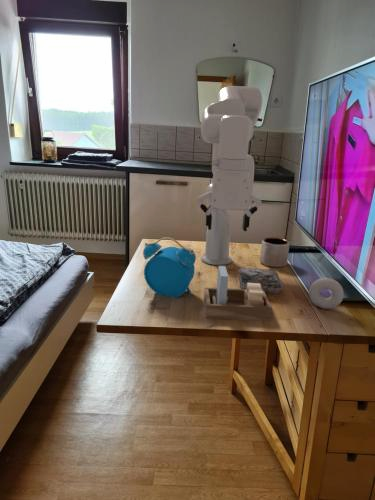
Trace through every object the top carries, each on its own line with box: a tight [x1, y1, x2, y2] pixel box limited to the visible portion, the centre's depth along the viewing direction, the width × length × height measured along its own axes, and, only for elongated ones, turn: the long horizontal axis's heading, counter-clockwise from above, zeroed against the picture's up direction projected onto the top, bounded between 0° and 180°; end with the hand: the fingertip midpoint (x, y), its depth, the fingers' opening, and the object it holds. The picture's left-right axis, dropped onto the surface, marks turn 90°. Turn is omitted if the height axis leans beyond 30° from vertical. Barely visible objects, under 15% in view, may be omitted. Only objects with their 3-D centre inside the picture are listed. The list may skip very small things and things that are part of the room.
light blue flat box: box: [216, 265, 229, 304], centre depth 110 cm, size 8×2×12 cm, turn 0°
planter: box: [259, 236, 291, 269], centre depth 153 cm, size 11×11×10 cm
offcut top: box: [247, 283, 263, 301], centre depth 110 cm, size 7×4×2 cm, turn 176°
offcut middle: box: [244, 290, 264, 306], centre depth 111 cm, size 8×4×2 cm, turn 3°
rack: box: [203, 287, 273, 322], centre depth 112 cm, size 12×18×5 cm, turn 90°
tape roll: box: [308, 277, 345, 310], centre depth 116 cm, size 10×4×10 cm, turn 71°
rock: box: [237, 267, 285, 295], centre depth 126 cm, size 16×8×10 cm, turn 73°
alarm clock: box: [142, 236, 197, 298], centre depth 119 cm, size 17×10×20 cm, turn 71°
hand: (226, 229), depth 104 cm, fingers open, 9 cm apart
